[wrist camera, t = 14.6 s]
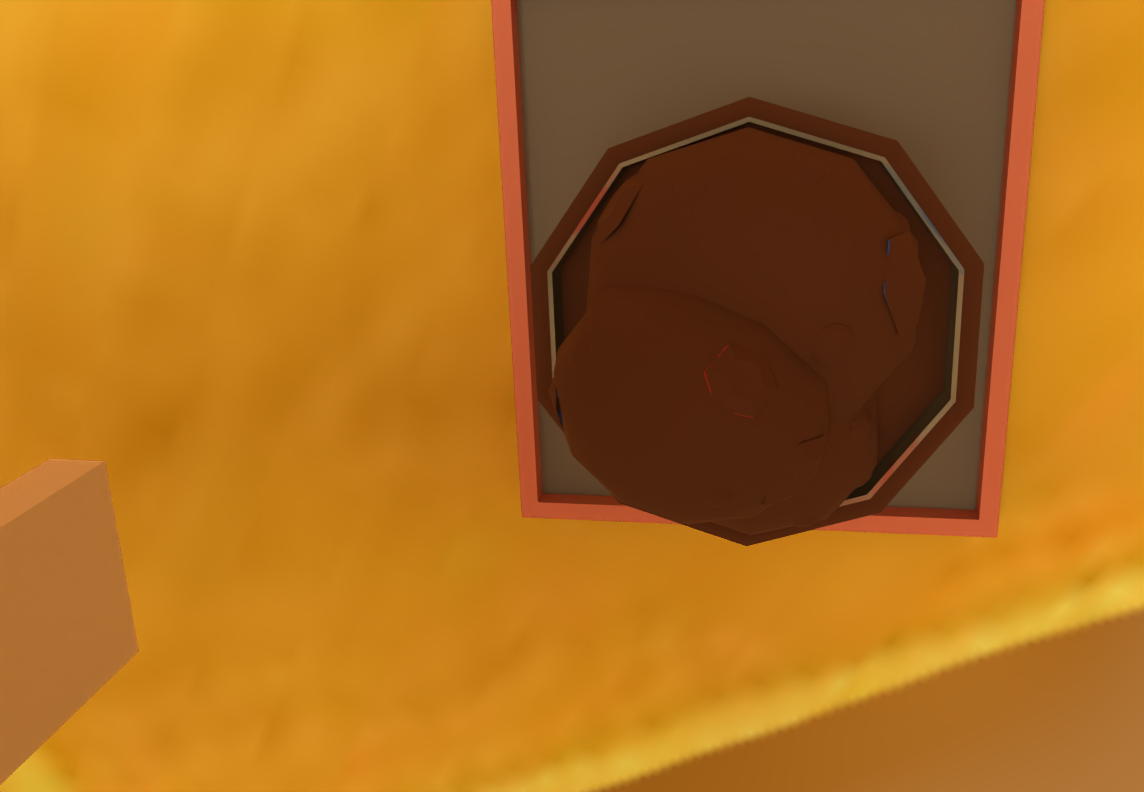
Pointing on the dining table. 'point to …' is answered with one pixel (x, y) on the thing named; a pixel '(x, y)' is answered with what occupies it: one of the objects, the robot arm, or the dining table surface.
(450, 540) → the dining table surface
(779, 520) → the ice cream bowl
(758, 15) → the serving tray
